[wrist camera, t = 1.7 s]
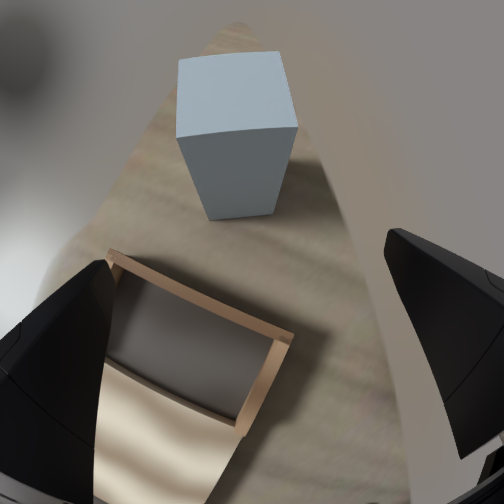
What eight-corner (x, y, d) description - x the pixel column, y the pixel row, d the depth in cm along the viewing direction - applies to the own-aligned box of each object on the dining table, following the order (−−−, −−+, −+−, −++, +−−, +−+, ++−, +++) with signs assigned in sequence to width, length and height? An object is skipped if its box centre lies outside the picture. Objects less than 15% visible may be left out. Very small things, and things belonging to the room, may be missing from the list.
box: (125, 255, 22) (109, 247, 19) (288, 330, 21) (294, 334, 19) (51, 497, 17) (38, 508, 14) (164, 558, 16) (158, 574, 13)
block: (265, 158, 24) (279, 51, 12) (272, 214, 23) (298, 126, 11) (205, 164, 24) (179, 59, 12) (209, 220, 23) (176, 137, 11)
